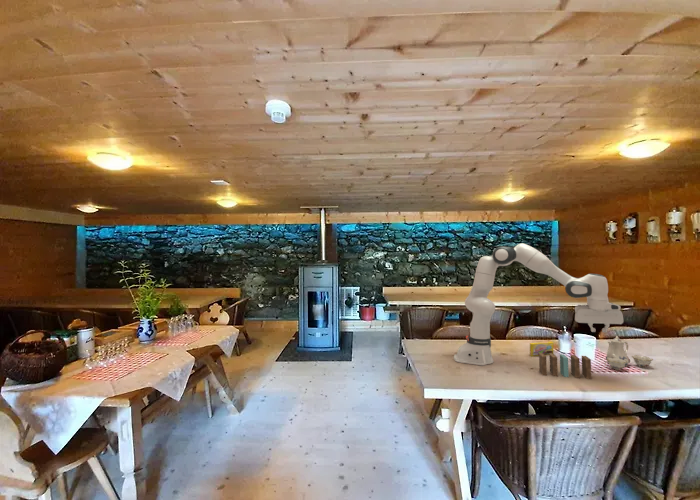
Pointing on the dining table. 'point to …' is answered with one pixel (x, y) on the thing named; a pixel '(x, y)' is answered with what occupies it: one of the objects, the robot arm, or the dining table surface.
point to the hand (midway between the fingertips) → (598, 331)
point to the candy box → (541, 348)
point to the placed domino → (564, 365)
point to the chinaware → (623, 355)
